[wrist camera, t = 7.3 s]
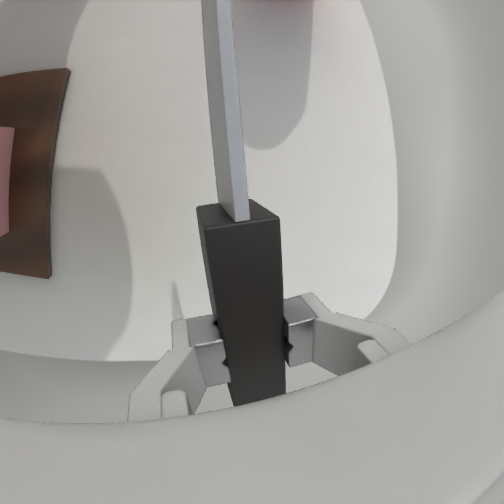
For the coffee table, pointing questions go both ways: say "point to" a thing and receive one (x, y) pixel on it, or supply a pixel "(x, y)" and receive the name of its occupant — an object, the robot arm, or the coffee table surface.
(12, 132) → the cake slice
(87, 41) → the coffee table surface
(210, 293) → the knife
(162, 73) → the coffee table surface
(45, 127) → the cake
